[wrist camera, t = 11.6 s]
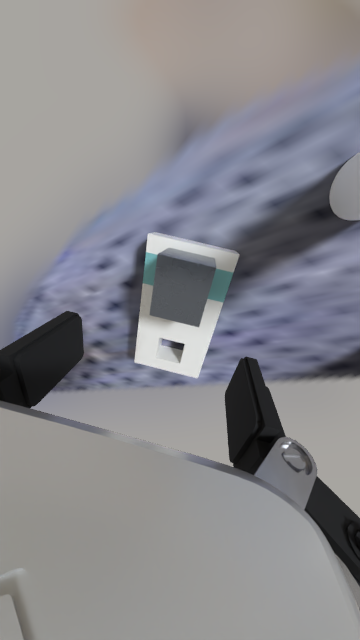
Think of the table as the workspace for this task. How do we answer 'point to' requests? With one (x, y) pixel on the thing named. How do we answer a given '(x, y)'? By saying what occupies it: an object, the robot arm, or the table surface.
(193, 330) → the docking board
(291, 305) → the table surface
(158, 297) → the grey rectangular block
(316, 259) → the table surface
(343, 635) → the robot arm
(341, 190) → the cylindrical container
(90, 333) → the table surface
